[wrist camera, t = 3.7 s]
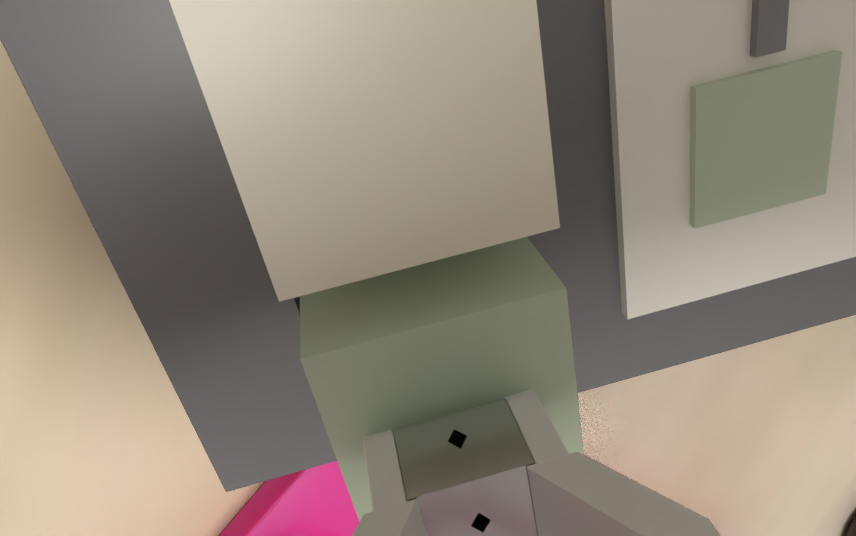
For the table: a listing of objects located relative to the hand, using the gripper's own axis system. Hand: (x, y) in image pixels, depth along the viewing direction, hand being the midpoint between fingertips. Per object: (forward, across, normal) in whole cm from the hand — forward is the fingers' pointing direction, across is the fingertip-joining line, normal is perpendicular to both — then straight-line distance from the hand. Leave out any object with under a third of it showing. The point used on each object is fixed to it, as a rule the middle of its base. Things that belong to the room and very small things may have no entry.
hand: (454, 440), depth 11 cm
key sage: (+4, 0, 0) cm, 4 cm away
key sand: (+4, 0, -5) cm, 7 cm away
